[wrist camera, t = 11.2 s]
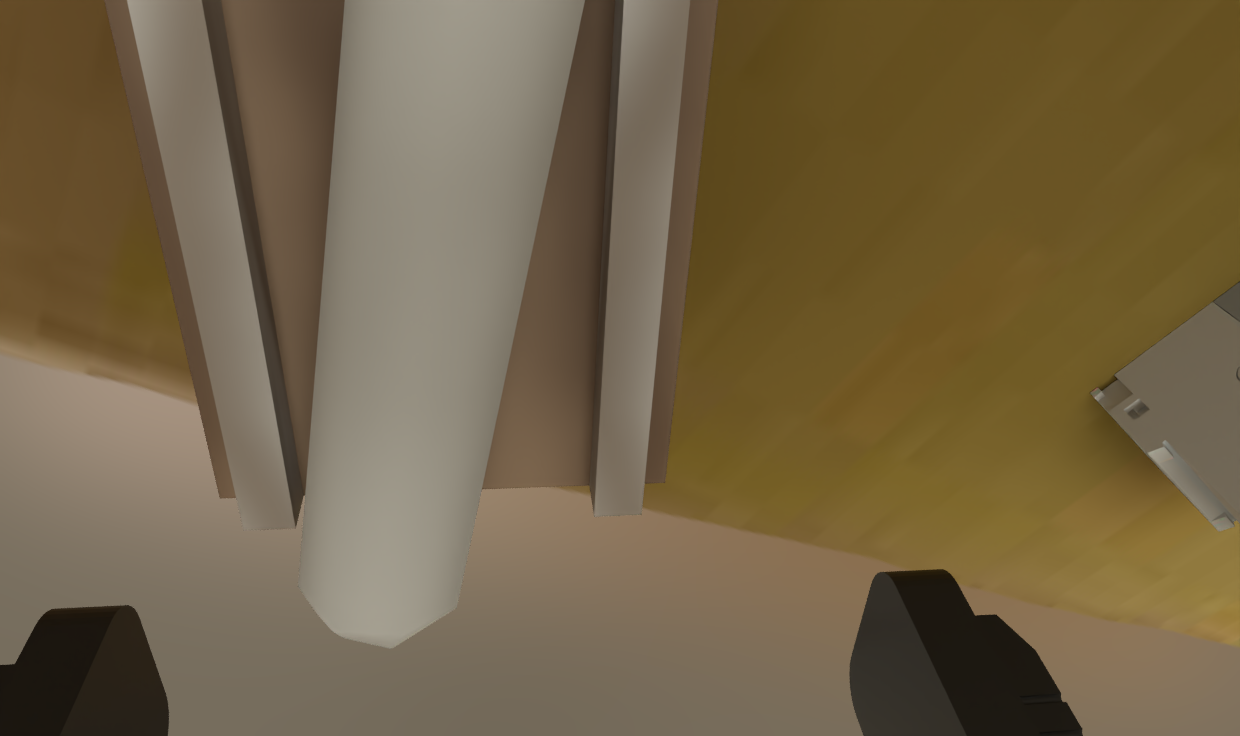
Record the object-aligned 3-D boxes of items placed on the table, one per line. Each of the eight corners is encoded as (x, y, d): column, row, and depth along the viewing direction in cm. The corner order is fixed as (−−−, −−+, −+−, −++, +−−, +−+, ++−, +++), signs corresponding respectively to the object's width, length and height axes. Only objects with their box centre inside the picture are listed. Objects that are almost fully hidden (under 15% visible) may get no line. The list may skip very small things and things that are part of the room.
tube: (483, 663, 28) (723, -323, 15) (302, 701, 26) (407, -440, 13) (434, 540, 32) (593, -333, 19) (272, 564, 30) (329, -426, 17)
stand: (661, -167, 29) (749, -129, 20) (626, 327, 39) (672, 513, 29) (192, -195, 27) (34, -168, 18) (278, 331, 37) (208, 532, 27)
